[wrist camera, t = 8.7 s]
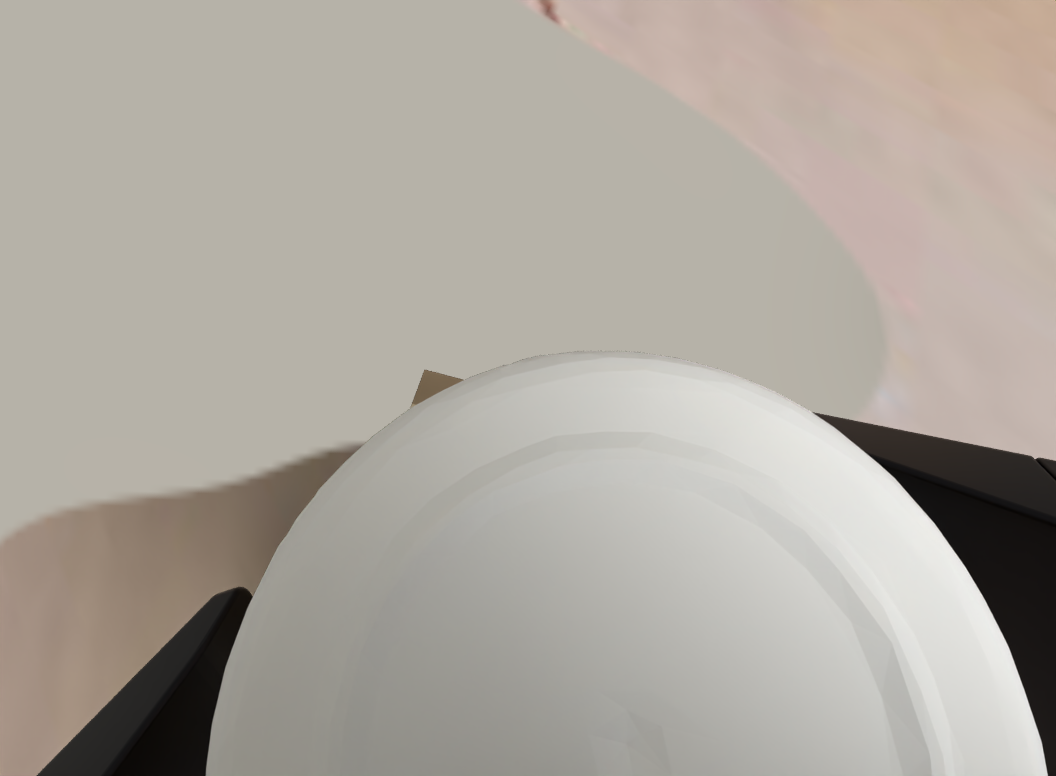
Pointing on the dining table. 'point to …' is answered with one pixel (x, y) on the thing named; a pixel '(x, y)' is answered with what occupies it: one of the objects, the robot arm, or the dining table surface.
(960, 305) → the dining table surface
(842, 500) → the sprinkles bottle
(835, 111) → the dining table surface
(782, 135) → the dining table surface
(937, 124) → the dining table surface
